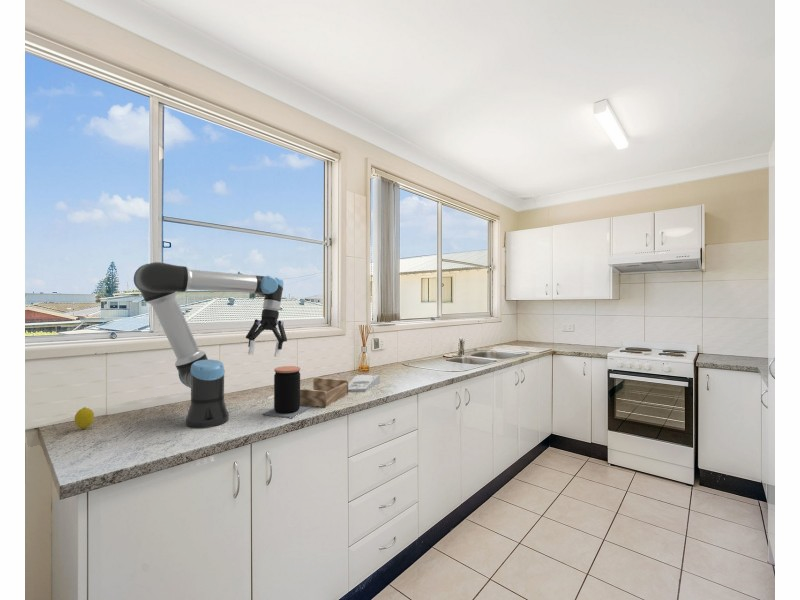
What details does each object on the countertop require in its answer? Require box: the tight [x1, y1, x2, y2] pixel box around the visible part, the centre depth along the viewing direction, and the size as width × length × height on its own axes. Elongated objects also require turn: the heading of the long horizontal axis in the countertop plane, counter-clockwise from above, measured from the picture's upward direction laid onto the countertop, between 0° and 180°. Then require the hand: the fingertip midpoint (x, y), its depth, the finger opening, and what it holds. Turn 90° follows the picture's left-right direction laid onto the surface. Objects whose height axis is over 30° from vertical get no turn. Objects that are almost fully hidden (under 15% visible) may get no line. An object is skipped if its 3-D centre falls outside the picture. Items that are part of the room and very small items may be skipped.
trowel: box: [348, 374, 381, 393], centre depth 209 cm, size 28×16×5 cm, turn 144°
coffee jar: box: [273, 365, 301, 414], centre depth 164 cm, size 11×11×18 cm
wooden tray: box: [300, 377, 349, 408], centre depth 185 cm, size 19×24×7 cm
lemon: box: [74, 406, 95, 430], centre depth 141 cm, size 6×6×8 cm
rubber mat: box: [262, 405, 311, 419], centre depth 164 cm, size 14×14×1 cm
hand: (263, 355), depth 176 cm, fingers open, 13 cm apart
